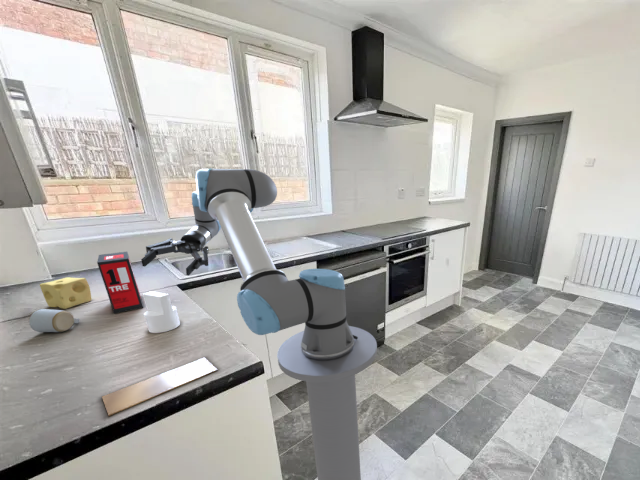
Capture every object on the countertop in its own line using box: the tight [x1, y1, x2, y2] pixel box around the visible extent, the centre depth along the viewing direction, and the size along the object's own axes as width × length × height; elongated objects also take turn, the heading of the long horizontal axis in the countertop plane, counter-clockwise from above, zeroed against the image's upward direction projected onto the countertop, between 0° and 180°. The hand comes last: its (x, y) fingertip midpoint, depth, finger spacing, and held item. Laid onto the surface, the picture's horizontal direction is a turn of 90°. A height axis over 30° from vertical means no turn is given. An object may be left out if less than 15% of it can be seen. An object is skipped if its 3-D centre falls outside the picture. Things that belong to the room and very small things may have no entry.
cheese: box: [39, 276, 93, 310], centre depth 126 cm, size 10×11×10 cm
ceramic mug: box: [28, 308, 80, 333], centre depth 104 cm, size 11×8×8 cm
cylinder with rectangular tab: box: [142, 290, 181, 334], centre depth 103 cm, size 9×9×12 cm
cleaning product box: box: [96, 251, 144, 314], centre depth 122 cm, size 16×9×20 cm, turn 40°
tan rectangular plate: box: [101, 356, 218, 417], centre depth 76 cm, size 22×9×1 cm, turn 138°
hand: (165, 267), depth 103 cm, fingers open, 13 cm apart
